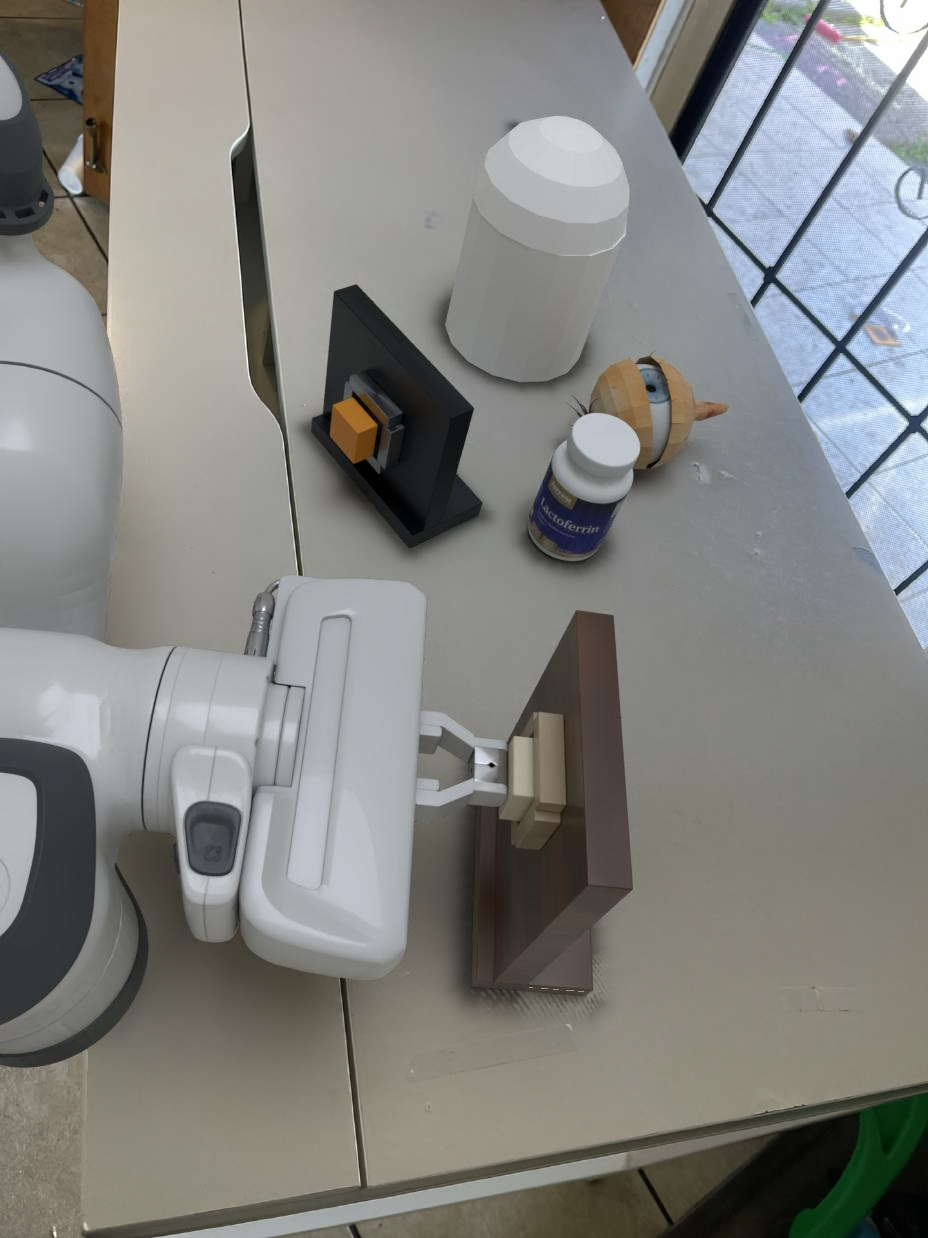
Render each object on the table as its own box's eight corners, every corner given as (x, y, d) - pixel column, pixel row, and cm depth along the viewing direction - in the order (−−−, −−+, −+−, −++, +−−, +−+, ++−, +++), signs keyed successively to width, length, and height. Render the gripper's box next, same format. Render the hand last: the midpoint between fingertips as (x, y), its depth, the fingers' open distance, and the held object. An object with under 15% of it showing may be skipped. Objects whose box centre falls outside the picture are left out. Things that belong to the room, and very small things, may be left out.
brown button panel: (466, 986, 54) (557, 882, 38) (472, 767, 62) (550, 605, 46) (585, 996, 55) (723, 898, 39) (577, 779, 63) (689, 625, 47)
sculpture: (554, 348, 75) (730, 315, 76) (546, 414, 84) (705, 384, 85) (583, 444, 72) (767, 408, 73) (571, 502, 80) (737, 470, 81)
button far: (353, 464, 68) (357, 433, 65) (329, 436, 69) (332, 404, 66) (373, 455, 68) (378, 424, 66) (349, 428, 69) (353, 396, 67)
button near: (498, 819, 47) (513, 795, 44) (499, 762, 49) (513, 735, 46) (533, 823, 47) (549, 798, 44) (532, 765, 49) (548, 739, 46)
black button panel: (406, 550, 71) (436, 424, 60) (307, 431, 76) (317, 295, 65) (479, 514, 74) (519, 389, 63) (379, 403, 79) (401, 269, 68)
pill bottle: (515, 545, 73) (553, 448, 64) (538, 492, 77) (576, 394, 68) (590, 576, 73) (637, 483, 64) (609, 521, 77) (657, 426, 68)
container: (481, 393, 82) (539, 185, 66) (421, 297, 88) (460, 84, 72) (605, 369, 88) (687, 171, 71) (540, 280, 93) (602, 77, 77)
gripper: (258, 604, 53) (493, 635, 55) (189, 976, 41) (489, 998, 43) (260, 536, 48) (519, 573, 50) (181, 940, 36) (522, 966, 38)
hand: (505, 774), depth 46 cm, fingers closed, pressing on button near
